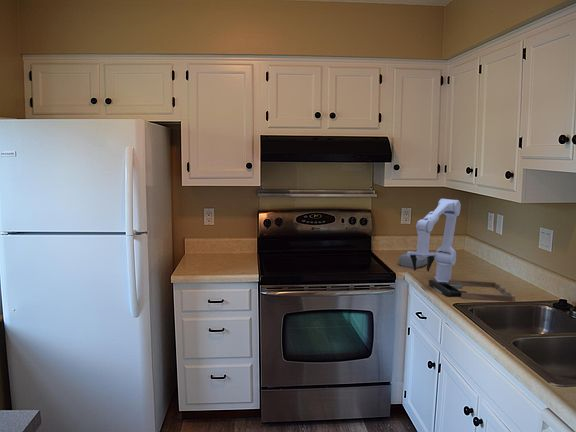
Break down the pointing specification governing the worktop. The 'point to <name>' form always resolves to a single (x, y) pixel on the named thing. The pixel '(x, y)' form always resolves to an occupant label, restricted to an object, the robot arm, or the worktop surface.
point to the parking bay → (505, 297)
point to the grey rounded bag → (407, 261)
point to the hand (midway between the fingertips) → (421, 270)
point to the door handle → (447, 288)
